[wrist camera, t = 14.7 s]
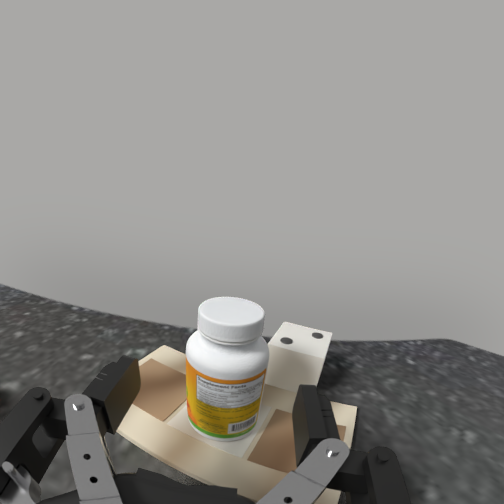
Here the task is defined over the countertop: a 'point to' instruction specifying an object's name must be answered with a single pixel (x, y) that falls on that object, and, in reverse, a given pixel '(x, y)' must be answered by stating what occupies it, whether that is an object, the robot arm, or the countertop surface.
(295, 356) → the die
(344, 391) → the countertop surface
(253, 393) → the supplement bottle
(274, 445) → the board
